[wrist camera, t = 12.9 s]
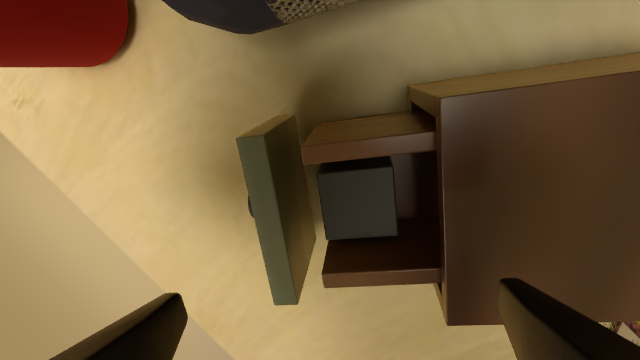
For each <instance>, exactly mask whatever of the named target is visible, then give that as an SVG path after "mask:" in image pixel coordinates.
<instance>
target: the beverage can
mask: <svg viewBox="0 0 640 360" xmlns="http://www.w3.org/2000/svg"><path fill="white" fill-rule="evenodd" d="M127 25H128V9H127V2H126V0H0V67H92V66H97V65H100V64H102V63H104V62H106V61H108V60H109V59H111V58H112V57H113V56H114V55H115V54H116V53H117V51H118V50H119V49H120V47H121V45H122V43H123V41H124V38H125V35H126V31H127Z"/></svg>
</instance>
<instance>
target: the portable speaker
mask: <svg viewBox="0 0 640 360" xmlns="http://www.w3.org/2000/svg"><path fill="white" fill-rule="evenodd" d="M162 1H164V2H165V3H166V4H167V5H168V6H170V7H171V8H172V9H174V10H175V11H177V12H178V13H180V14H181V15H183V16H184V17H186V18H187V19H188V20H192V21H195V22H198V23H202V24H205V25H209V26H212V27H216V28H219V29H222V30H226V31H229V32H233V33H237V34H254V33H257V32H261V31H265V30H269V29H272V28H276V27H280V26H283V25H287V24H289V23H292V22H295V21H299V20H301V19H304V18H308V17H311V16H313V15H317V14H320V13H323V12H326V11H330V10H332V9H335V8H339V7H342V6H344V5H348V4H352V3H354V2H356V1H361V0H162Z"/></svg>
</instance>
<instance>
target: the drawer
mask: <svg viewBox="0 0 640 360" xmlns="http://www.w3.org/2000/svg"><path fill="white" fill-rule="evenodd" d="M236 141H237V146H238V150H239V154H240V159H241V163H242V167H243V172H244V176H245V180H246V185H247V189H248V193H249V195H248V207H249V212H250V214H251V216H252V217H253V218H254V219H255V223H256V228H257V232H258V236H259V241H260V245H261V249H262V254H263V258H264V262H265V267H266V271H267V275H268V280H269V284H270V288H271V293H272V297H273V301H274V305H297V304H298V302H299V299H300V295H301V291H302V288H303V284H304V281H305V277H306V273H307V270H308V266H309V263H310V259H311V255H312V252H313V248H314V245H315V241H316V235H315V229H314V223H313V217H312V211H311V205H310V199H309V193H308V188H307V182H306V176H305V170H304V165H309V164H318V163H327V162H336V161H345V160H354V159H363V158H373V157H382V156H390V158H391V161H392V164H393V167H394V181H395V195H396V209H397V222H398V236H387V237H371V238H355V239H339V240H329V241H328V246H327V251H326V256H325V261H324V265H323V270H322V280H323V285H324V288H338V287H361V286H383V285H406V284H429V283H442V278H441V250H440V223H439V196H438V168H437V141H436V118H435V117H434V116H432V115H431V114H429V113H428V112H426V111H425V110H419V111H412V112H404V113H396V114H389V115H381V116H373V117H366V118H358V119H350V120H343V121H335V122H327V123H320V124H318V125H317V127H316V128H315V129H314V131H313V132H312V133H311V134H310V136H309V137H308V138H307V139H306V141H305V142H304V143H303V144H302V146H300V140H299V134H298V129H297V123H296V117H295V114H289V115H282V116H276V117H274V118H272V119H270V120H268V121H267V122H265V123H263V124H261V125H259V126H257V127H256V128H254V129H252V130H250V131H248V132H246V133H245V134H243V135H241V136H239V137H237V138H236Z"/></svg>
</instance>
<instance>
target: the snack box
mask: <svg viewBox="0 0 640 360" xmlns="http://www.w3.org/2000/svg"><path fill="white" fill-rule="evenodd" d="M615 333H617V334H619V335H620V336H622V337H624V338H626V339H628V340H629V341H631V342H633V343H635V344H636V345H638V346H640V321H639V322H619V323H618V326H617V327H616V329H615Z"/></svg>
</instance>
